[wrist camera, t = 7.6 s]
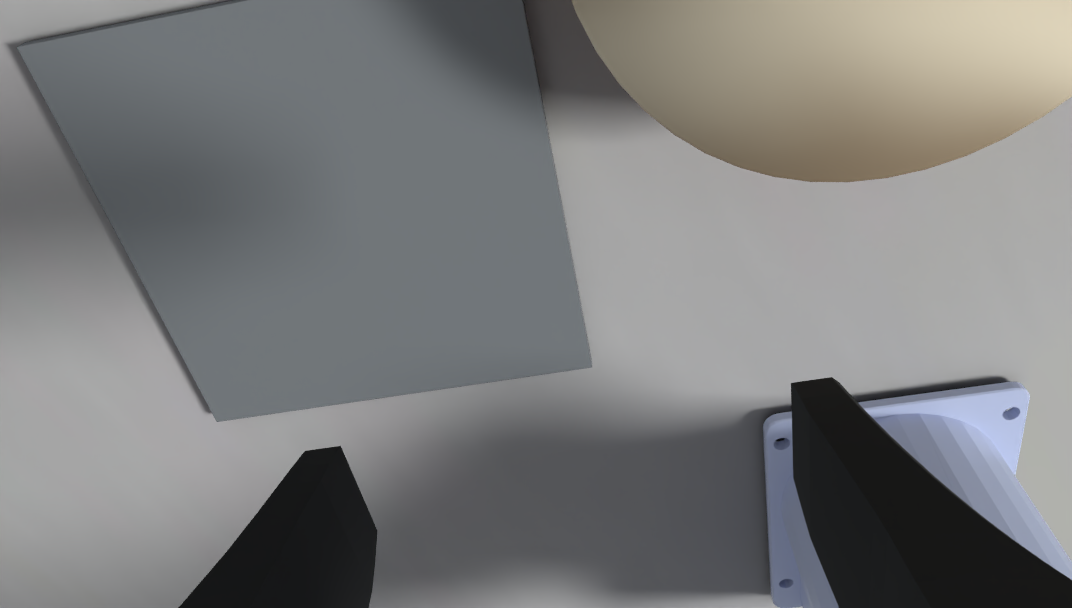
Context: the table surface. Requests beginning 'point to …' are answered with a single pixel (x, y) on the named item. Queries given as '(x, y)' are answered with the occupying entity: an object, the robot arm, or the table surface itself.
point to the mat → (328, 193)
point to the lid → (837, 77)
